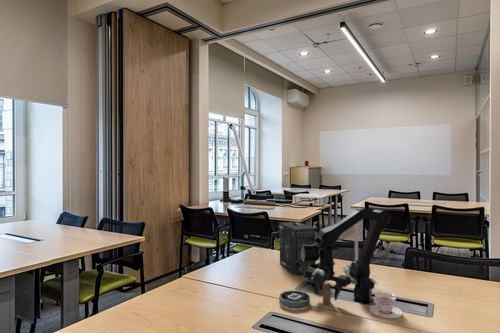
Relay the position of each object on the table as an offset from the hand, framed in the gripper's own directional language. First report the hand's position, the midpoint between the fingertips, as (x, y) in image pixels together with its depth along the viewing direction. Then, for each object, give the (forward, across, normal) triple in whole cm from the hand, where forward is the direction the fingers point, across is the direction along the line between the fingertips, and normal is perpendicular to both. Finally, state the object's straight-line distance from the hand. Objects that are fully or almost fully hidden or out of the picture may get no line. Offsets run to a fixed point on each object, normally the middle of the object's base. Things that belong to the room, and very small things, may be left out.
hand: (326, 297), depth 141 cm
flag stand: (+2, -2, +37) cm, 37 cm away
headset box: (+2, -34, +32) cm, 47 cm away
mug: (+2, -11, +13) cm, 17 cm away
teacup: (+2, +22, +6) cm, 23 cm away
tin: (+2, -10, -9) cm, 14 cm away
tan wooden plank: (+2, 0, 0) cm, 2 cm away
